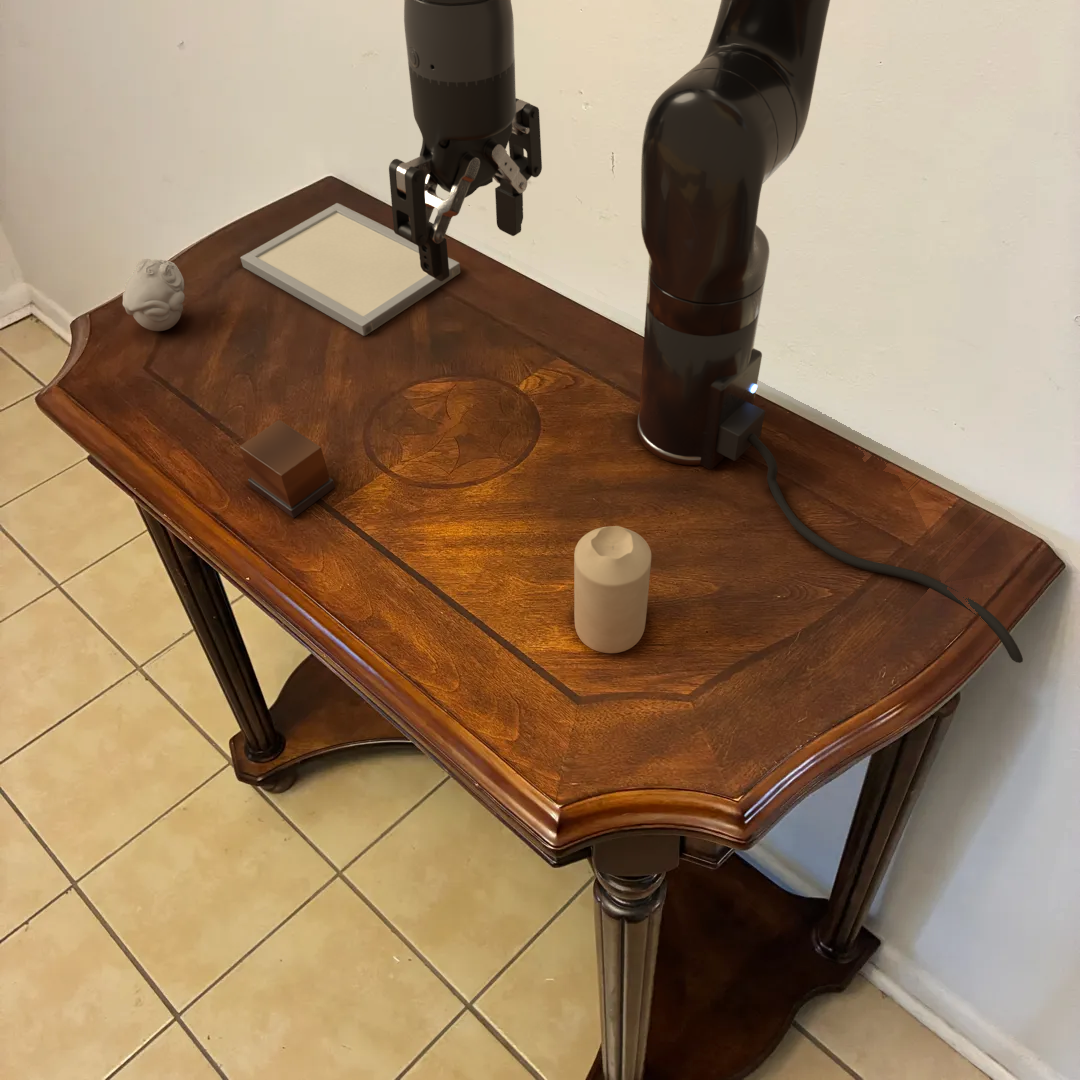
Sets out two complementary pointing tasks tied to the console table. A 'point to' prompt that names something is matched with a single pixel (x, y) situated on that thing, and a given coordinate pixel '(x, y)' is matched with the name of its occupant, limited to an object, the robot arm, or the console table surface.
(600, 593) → the candle
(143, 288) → the frog figurine
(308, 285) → the whiteboard
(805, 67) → the robot arm
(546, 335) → the console table surface
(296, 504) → the eraser
